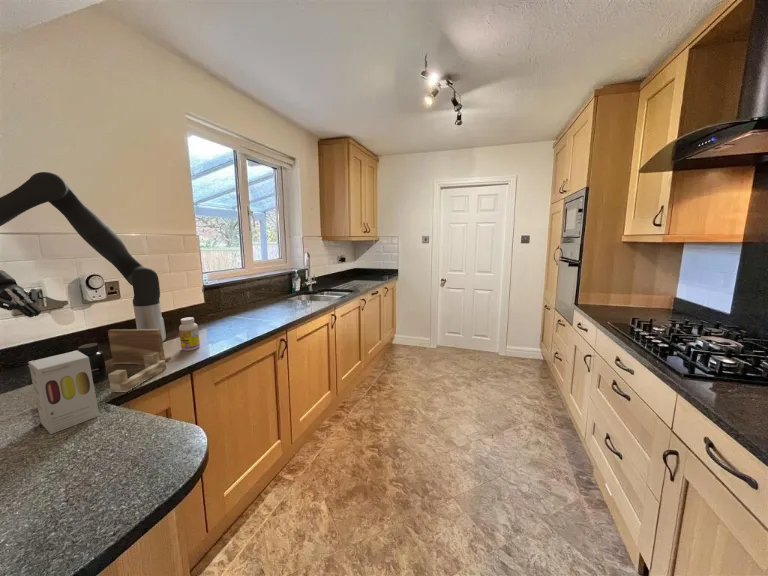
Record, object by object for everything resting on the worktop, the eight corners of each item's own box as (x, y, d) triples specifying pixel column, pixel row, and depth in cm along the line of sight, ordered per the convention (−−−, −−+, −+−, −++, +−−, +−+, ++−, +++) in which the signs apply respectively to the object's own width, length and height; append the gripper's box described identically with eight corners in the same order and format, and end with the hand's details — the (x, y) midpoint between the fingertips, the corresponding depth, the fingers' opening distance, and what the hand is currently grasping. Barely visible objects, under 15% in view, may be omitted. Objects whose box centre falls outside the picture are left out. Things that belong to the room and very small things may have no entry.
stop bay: (152, 368, 111) (149, 352, 110) (166, 368, 111) (163, 352, 110) (111, 392, 95) (108, 374, 94) (127, 392, 95) (124, 374, 94)
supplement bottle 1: (90, 386, 99) (84, 350, 97) (74, 384, 100) (66, 348, 98) (113, 376, 106) (107, 342, 103) (97, 374, 107) (91, 341, 105)
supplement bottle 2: (177, 349, 129) (173, 319, 126) (192, 344, 135) (189, 315, 132) (189, 352, 126) (185, 321, 124) (203, 346, 132) (200, 317, 130)
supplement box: (49, 435, 75) (35, 370, 72) (39, 423, 80) (25, 361, 77) (101, 415, 83) (89, 356, 80) (88, 405, 88) (77, 349, 85)
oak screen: (124, 359, 120) (118, 326, 117) (171, 358, 120) (166, 326, 117) (113, 364, 115) (107, 330, 112) (161, 364, 115) (156, 330, 112)
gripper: (-33, 272, 92) (18, 312, 94) (20, 266, 105) (63, 302, 107) (-46, 290, 93) (4, 329, 95) (7, 282, 106) (51, 317, 108)
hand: (35, 314), depth 101 cm, fingers closed
